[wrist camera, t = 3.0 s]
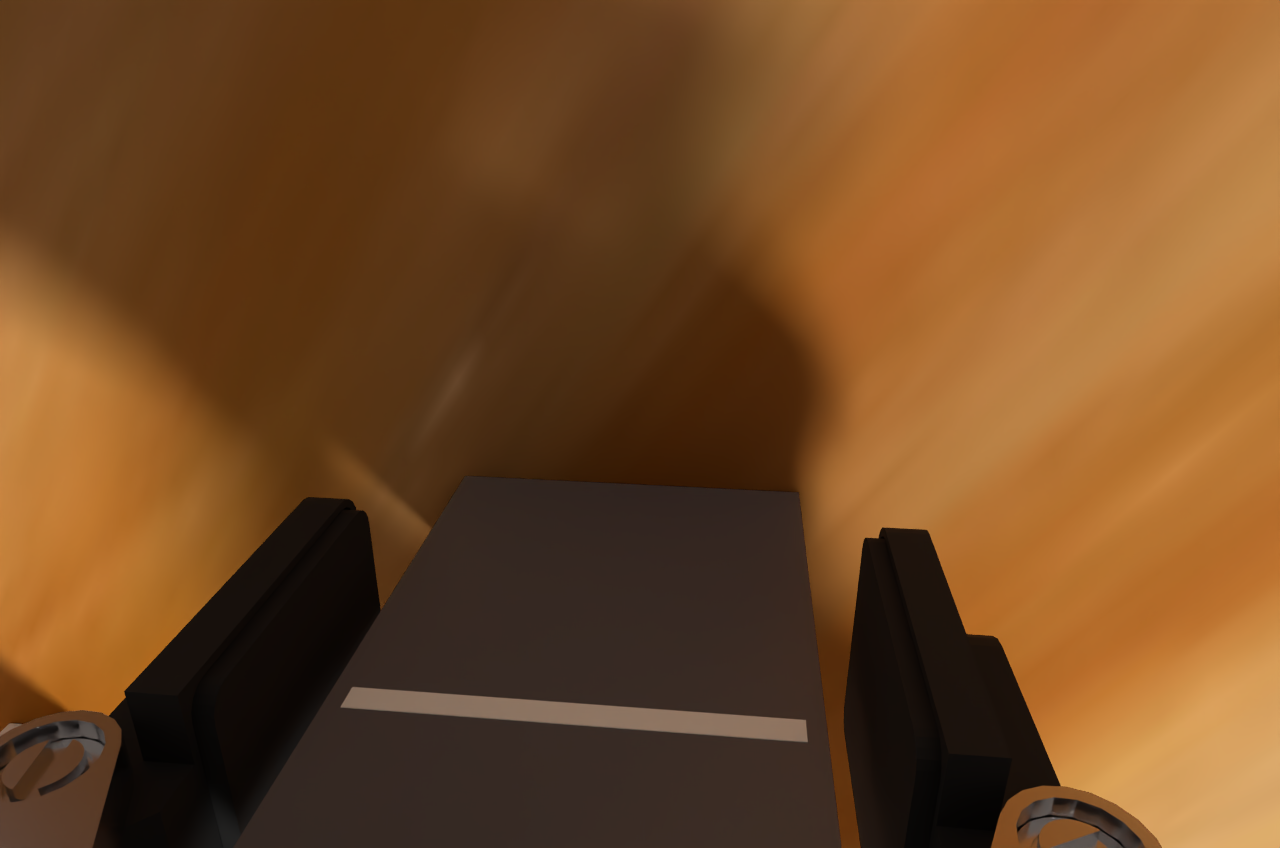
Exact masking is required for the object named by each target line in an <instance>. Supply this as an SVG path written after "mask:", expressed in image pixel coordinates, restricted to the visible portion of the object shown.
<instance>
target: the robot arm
mask: <svg viewBox="0 0 1280 848" xmlns="http://www.w3.org/2000/svg"><path fill="white" fill-rule="evenodd" d="M380 611H381V610H380V602H379V595H378V587H377V580H376V572H375V564H374V557H373V549H372V542H371V534H370V527H369V521H368V516H367V514H366V513H365V512H364V511H360V510H356V507H355V505H354V503H353V502H352V501H351V500H350V499H333V498H314V497H308V498H306V499H304V500H303V501H302V502H301V503H300V504H299V505H298V506H297V507H296V508H295V510H294V511H293V512H292V513H291V514H290V515H289V516H288V517H287V518H286V519H285V520H284V521H283V522H282V523H281V525H280V526H279V527H278V528H277V529H276V530H275V531H274V532H273V533H272V534H271V535H270V536H269V537H268V538H267V539H266V541H265V542H264V543H263V544H262V545H261V546H260V547H259V548H258V549H257V550H256V551H255V552H254V553H253V554H252V555H251V557H250V558H249V559H248V560H247V561H246V562H245V563H244V564H243V565H242V566H241V567H240V568H239V569H238V570H237V572H236V573H235V574H234V575H233V576H232V577H231V578H230V579H229V580H228V581H227V582H226V583H225V584H224V585H223V586H222V588H221V589H220V590H219V591H218V592H217V593H216V594H215V595H214V596H213V597H212V598H211V599H210V600H209V601H208V603H207V604H206V605H205V606H204V607H203V608H202V609H201V610H200V611H199V612H198V613H197V614H196V615H195V616H194V617H193V619H192V620H191V621H190V622H189V623H188V624H187V625H186V626H185V627H184V628H183V629H182V630H181V631H180V632H179V634H178V635H177V636H176V637H175V638H174V639H173V640H172V641H171V642H170V643H169V644H168V645H167V646H166V647H165V648H164V650H163V651H162V652H161V653H160V654H159V655H158V656H157V657H156V658H155V659H154V660H153V661H152V662H151V663H150V664H149V666H148V667H147V668H146V669H145V670H144V671H143V672H142V673H141V674H140V675H139V676H138V677H137V678H136V679H135V681H134V682H133V683H132V684H131V685H130V686H129V687H128V688H127V689H126V690H125V691H124V692H125V696H126V698H125V699H124V700H123V701H122V702H121V703H120V704H119V705H118V706H117V708H116V709H115V710H114V711H113V712H112V713H111V714H110V715H109V716H107V715H105V714H103V713H101V712H93V711H85V710H79V711H69V712H59V713H56V714H52V715H48V716H44V717H41V718H37V719H34V720H32V721H29V722H27V723H25V724H22V725H20V726H18V727H15V728H13V729H11V730H9V731H8V732H6V733H4V734H3V735H1V736H0V848H233V847H234V845H235V844H236V842H237V841H238V839H239V837H240V836H241V834H242V833H243V831H244V829H245V828H246V826H247V825H248V823H249V821H250V820H251V818H252V817H253V815H254V813H255V812H256V810H257V809H258V807H259V805H260V804H261V802H262V801H263V799H264V797H265V796H266V794H267V793H268V791H269V789H270V788H271V786H272V785H273V783H274V781H275V780H276V778H277V777H278V775H279V773H280V772H281V770H282V768H283V767H284V765H285V764H286V762H287V760H288V759H289V757H290V756H291V754H292V752H293V751H294V749H295V748H296V746H297V744H298V743H299V741H300V740H301V738H302V736H303V735H304V733H305V732H306V730H307V728H308V727H309V725H310V724H311V722H312V720H313V719H314V717H315V716H316V714H317V712H318V711H319V709H320V708H321V706H322V704H323V703H324V701H325V700H326V698H327V696H328V695H329V693H330V692H331V690H332V688H333V687H334V685H335V684H336V682H337V680H338V679H339V677H340V676H341V674H342V672H343V671H344V669H345V668H346V666H347V664H348V663H349V661H350V660H351V658H352V656H353V655H354V653H355V652H356V650H357V648H358V647H359V645H360V643H361V642H362V640H363V639H364V637H365V635H366V634H367V632H368V631H369V629H370V627H371V626H372V624H373V623H374V621H375V619H376V618H377V616H378V615H379V613H380ZM844 732H845V740H846V747H847V754H848V761H849V768H850V775H851V782H852V789H853V796H854V802H855V809H856V816H857V823H858V830H859V837H860V844H861V848H1162V847H1161V845H1160V843H1159V842H1158V840H1157V838H1156V837H1155V836H1154V835H1153V834H1152V833H1151V832H1150V831H1149V830H1148V829H1147V828H1146V827H1145V826H1144V825H1143V824H1142V823H1141V822H1140V821H1139V820H1138V819H1136V818H1135V817H1134V816H1132V815H1131V814H1129V813H1128V812H1126V811H1125V810H1123V809H1122V808H1120V807H1119V806H1118V805H1116V804H1114V803H1112V802H1110V801H1107V800H1105V799H1103V798H1101V797H1099V796H1096V795H1094V794H1092V793H1089V792H1085V791H1081V790H1077V789H1073V788H1069V787H1063V786H1060V783H1059V781H1058V778H1057V776H1056V774H1055V771H1054V769H1053V767H1052V764H1051V762H1050V759H1049V757H1048V755H1047V752H1046V750H1045V747H1044V745H1043V743H1042V740H1041V738H1040V736H1039V733H1038V731H1037V728H1036V726H1035V724H1034V721H1033V719H1032V717H1031V714H1030V712H1029V709H1028V707H1027V705H1026V702H1025V700H1024V698H1023V695H1022V693H1021V690H1020V688H1019V686H1018V683H1017V681H1016V678H1015V676H1014V674H1013V671H1012V669H1011V667H1010V664H1009V662H1008V659H1007V657H1006V655H1005V652H1004V650H1003V648H1002V646H1001V644H1000V642H999V640H998V639H997V638H995V637H994V636H985V635H970V634H966V632H965V629H964V626H963V624H962V621H961V618H960V616H959V613H958V610H957V607H956V605H955V602H954V599H953V597H952V594H951V591H950V589H949V586H948V583H947V580H946V578H945V575H944V572H943V570H942V567H941V564H940V561H939V559H938V556H937V553H936V551H935V548H934V545H933V543H932V540H931V537H930V534H929V533H928V531H927V530H919V529H900V528H882V529H881V531H880V534H879V539H878V538H865V539H864V543H863V548H862V557H861V565H860V574H859V583H858V591H857V600H856V609H855V617H854V626H853V635H852V643H851V652H850V661H849V669H848V678H847V687H846V695H845V705H844Z"/></svg>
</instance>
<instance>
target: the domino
mask: <svg viewBox="0 0 1280 848" xmlns="http://www.w3.org/2000/svg"><path fill="white" fill-rule="evenodd" d="M233 848H841V840H840V831H839V823H838V815H837V806H836V798H835V790H834V781H833V773H832V765H831V756H830V748H829V740H828V732H827V723H826V715H825V707H824V698H823V690H822V682H821V673H820V665H819V657H818V648H817V640H816V632H815V624H814V615H813V607H812V599H811V590H810V582H809V574H808V565H807V557H806V549H805V540H804V532H803V524H802V516H801V507H800V499H799V492H780V491H760V490H740V489H720V488H700V487H680V486H660V485H640V484H620V483H599V482H579V481H559V480H539V479H519V478H499V477H479V476H465V477H464V478H463V480H462V482H461V483H460V485H459V486H458V488H457V490H456V491H455V493H454V494H453V496H452V498H451V499H450V501H449V502H448V504H447V506H446V507H445V509H444V510H443V512H442V514H441V515H440V517H439V518H438V520H437V522H436V523H435V525H434V527H433V528H432V530H431V531H430V533H429V535H428V536H427V538H426V539H425V541H424V543H423V544H422V546H421V547H420V549H419V551H418V552H417V554H416V555H415V557H414V559H413V560H412V562H411V563H410V565H409V567H408V568H407V570H406V571H405V573H404V575H403V576H402V578H401V579H400V581H399V583H398V584H397V586H396V587H395V589H394V591H393V592H392V594H391V595H390V597H389V599H388V600H387V602H386V603H385V605H384V607H383V608H382V610H381V611H380V613H379V615H378V616H377V618H376V619H375V621H374V623H373V624H372V626H371V627H370V629H369V631H368V632H367V634H366V635H365V637H364V639H363V640H362V642H361V643H360V645H359V647H358V648H357V650H356V652H355V653H354V655H353V656H352V658H351V660H350V661H349V663H348V664H347V666H346V668H345V669H344V671H343V672H342V674H341V676H340V677H339V679H338V680H337V682H336V684H335V685H334V687H333V688H332V690H331V692H330V693H329V695H328V696H327V698H326V700H325V701H324V703H323V704H322V706H321V708H320V709H319V711H318V712H317V714H316V716H315V717H314V719H313V720H312V722H311V724H310V725H309V727H308V728H307V730H306V732H305V733H304V735H303V736H302V738H301V740H300V741H299V743H298V744H297V746H296V748H295V749H294V751H293V752H292V754H291V756H290V757H289V759H288V760H287V762H286V764H285V765H284V767H283V768H282V770H281V772H280V773H279V775H278V777H277V778H276V780H275V781H274V783H273V785H272V786H271V788H270V789H269V791H268V793H267V794H266V796H265V797H264V799H263V801H262V802H261V804H260V805H259V807H258V809H257V810H256V812H255V813H254V815H253V817H252V818H251V820H250V821H249V823H248V825H247V826H246V828H245V829H244V831H243V833H242V834H241V836H240V837H239V839H238V841H237V842H236V844H235V845H234V847H233Z"/></svg>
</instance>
